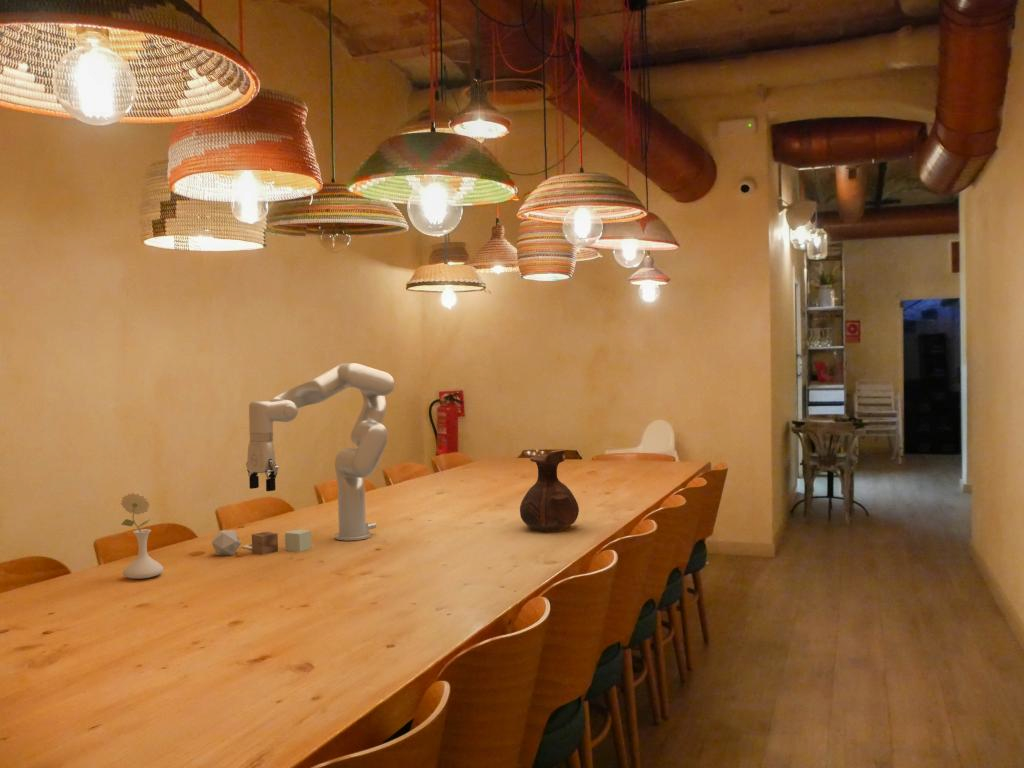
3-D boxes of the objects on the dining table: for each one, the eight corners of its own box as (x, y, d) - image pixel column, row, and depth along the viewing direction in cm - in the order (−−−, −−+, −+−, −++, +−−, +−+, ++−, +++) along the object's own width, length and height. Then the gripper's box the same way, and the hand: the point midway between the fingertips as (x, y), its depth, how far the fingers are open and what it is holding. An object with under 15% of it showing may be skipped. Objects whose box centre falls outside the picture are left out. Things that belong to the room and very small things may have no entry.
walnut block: (267, 549, 300) (267, 531, 300) (278, 551, 297) (277, 533, 296) (252, 552, 296) (251, 534, 296) (262, 554, 292) (261, 536, 292)
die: (224, 560, 287) (242, 534, 290) (202, 547, 289) (220, 521, 291) (231, 563, 295) (249, 538, 298) (210, 550, 296) (228, 525, 299)
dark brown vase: (510, 532, 320) (508, 449, 319) (531, 521, 340) (530, 443, 339) (568, 536, 312) (566, 450, 311) (586, 524, 332) (585, 444, 331)
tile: (262, 543, 309) (262, 541, 309) (276, 546, 304) (276, 544, 304) (242, 547, 303) (242, 545, 303) (255, 550, 298) (255, 548, 298)
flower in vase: (172, 573, 268) (169, 491, 268) (145, 583, 258) (142, 497, 257) (137, 570, 273) (134, 489, 272) (109, 580, 262) (106, 495, 261)
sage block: (297, 546, 303) (296, 529, 303) (311, 548, 301) (310, 530, 300) (285, 550, 298) (285, 532, 298) (299, 552, 295) (299, 534, 295)
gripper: (237, 437, 298) (238, 488, 299) (266, 440, 287) (267, 493, 287) (256, 436, 304) (257, 486, 304) (286, 438, 292) (287, 490, 293)
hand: (262, 489), depth 296 cm, fingers open, 9 cm apart
